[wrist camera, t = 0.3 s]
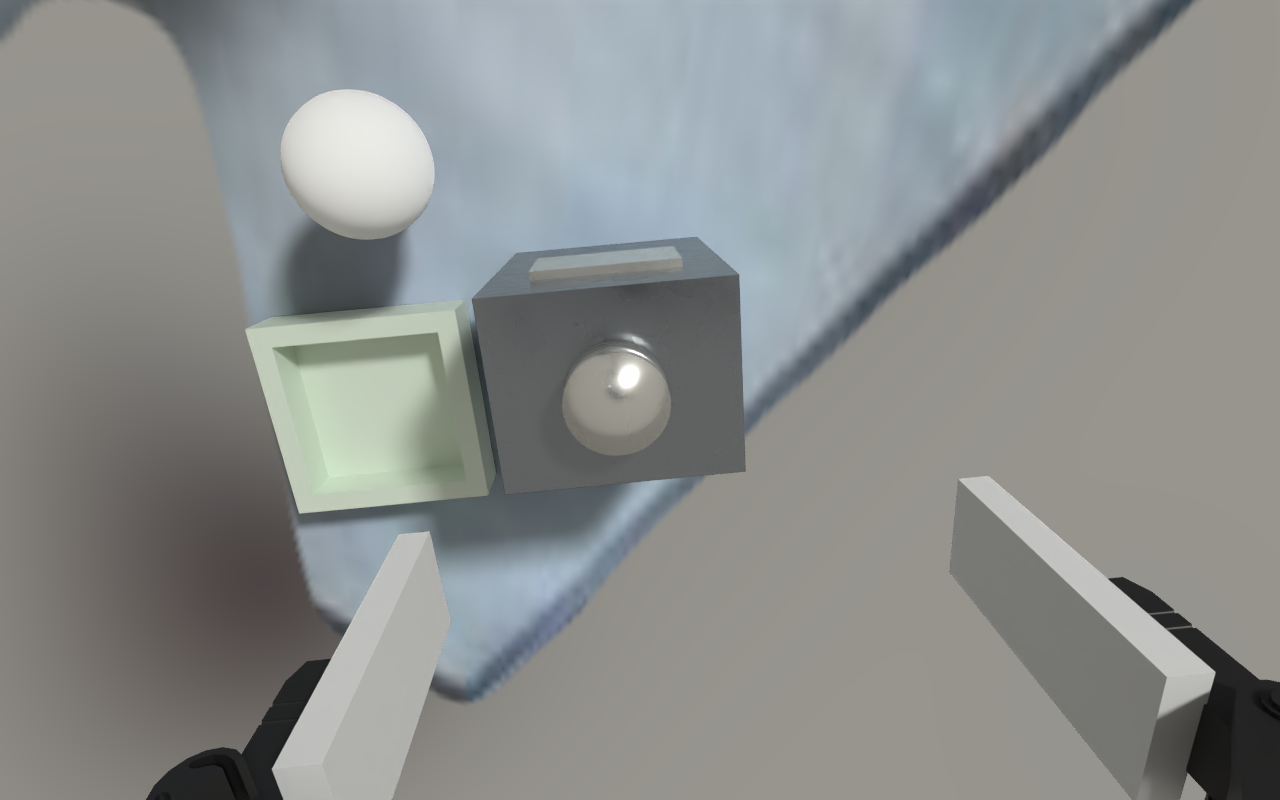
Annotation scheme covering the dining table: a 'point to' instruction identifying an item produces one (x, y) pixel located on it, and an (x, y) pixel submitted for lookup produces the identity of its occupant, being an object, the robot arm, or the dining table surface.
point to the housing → (613, 365)
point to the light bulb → (357, 164)
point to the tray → (376, 405)
